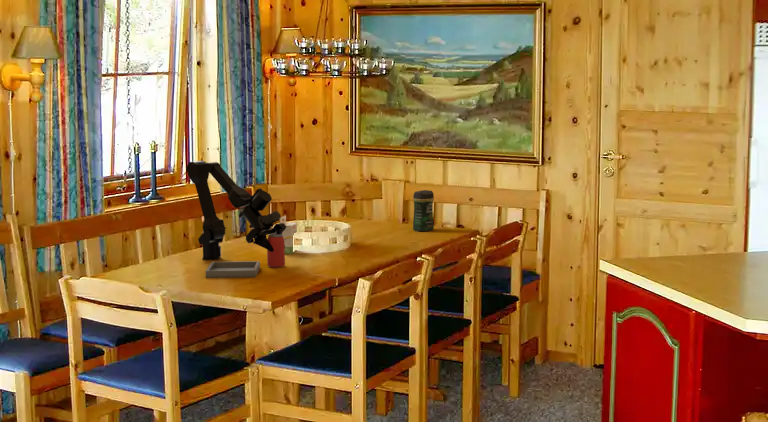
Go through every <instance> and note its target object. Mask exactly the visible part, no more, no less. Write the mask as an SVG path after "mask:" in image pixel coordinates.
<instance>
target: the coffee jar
mask: <svg viewBox="0 0 768 422" xmlns="http://www.w3.org/2000/svg"><path fill="white" fill-rule="evenodd" d="M412 197H413V198H412V200H413V221H412V229H413V231H415V232H429V231H433V230H434V227H435V225H434V211H433V209H434V208H433V204H434V199H435V198H434V192H433V191H432V190H427V189H424V190H416V191H414V192H413V196H412Z"/></svg>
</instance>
